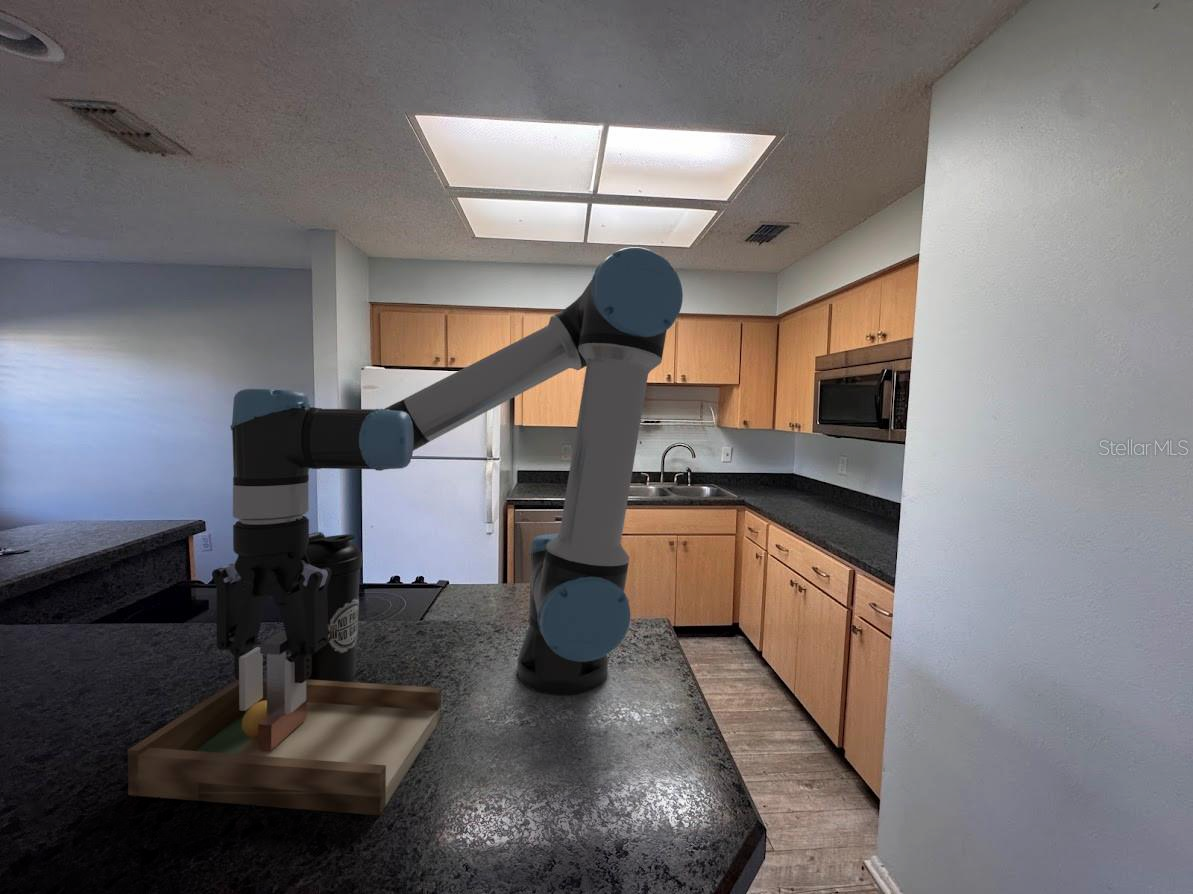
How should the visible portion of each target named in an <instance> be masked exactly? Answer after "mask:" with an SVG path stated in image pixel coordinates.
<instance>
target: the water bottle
mask: <svg viewBox="0 0 1193 894" xmlns="http://www.w3.org/2000/svg"><path fill="white" fill-rule="evenodd" d="M355 537H356V536H355V535H354V534H349V533H348V534H338V535H336V534H335V535H328V536H325V534H324V533H323V532H321V531H318V532H313V533H309V543H308V546H307V549H306V555H307V557H308V559H309V562H310V565H312V566H314V567H317V568H319V569H323V568H326V567H328V568H330V569H331V571H332V574H331V577H330V580H329V583H328V586H327V602H328V643H327V644H326V645H325V646H323V647H322V648H321V649H319V650H318V651H316V652H315V653H313V654H312V665H311V666H312V668H311V669H312V673H311V676H310V677H309V678H308V679H309V680H324V681H340V682H352V680H353V679H354V678H355V676H356V671H357V669H356V668H357V649H358V648H357V646H358V645H357V644H358V631H359V630H358V627H359V605H360V604H359V603H360V599H359V597H360V595H359V594H360V573H361V572H360V570H361V568H362V565H363V552H362V551H361V550H360V549H359V547H358V546H357V545H356V544H355V543H354V542H352V540H354V539H355ZM304 581H305V577H304V576H303V578H302V579H301V582H302V586H303V590H304V593H303V595H302V599H303V603H304V607H305V589H306V586H304V584H303V582H304Z"/></svg>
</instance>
